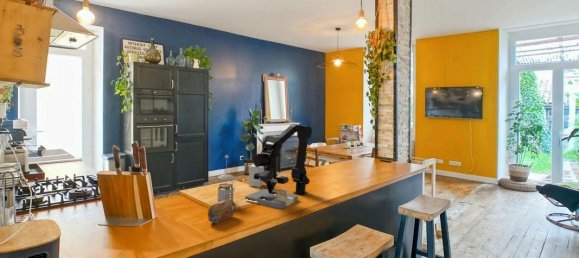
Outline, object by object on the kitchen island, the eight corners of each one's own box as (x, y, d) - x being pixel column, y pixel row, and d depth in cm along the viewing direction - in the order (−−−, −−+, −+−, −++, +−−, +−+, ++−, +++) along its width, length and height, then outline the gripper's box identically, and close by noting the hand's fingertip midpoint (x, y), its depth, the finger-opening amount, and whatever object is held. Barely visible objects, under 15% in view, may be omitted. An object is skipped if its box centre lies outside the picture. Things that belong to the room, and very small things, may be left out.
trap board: (263, 193, 188) (264, 188, 188) (297, 200, 178) (298, 195, 178) (245, 200, 173) (245, 196, 173) (281, 209, 162) (281, 204, 162)
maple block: (280, 196, 176) (280, 188, 175) (286, 197, 174) (287, 190, 173) (276, 197, 172) (276, 190, 172) (283, 199, 170) (283, 191, 170)
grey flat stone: (211, 226, 137) (212, 206, 137) (206, 224, 139) (206, 205, 138) (235, 216, 150) (236, 198, 149) (230, 214, 152) (231, 197, 151)
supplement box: (260, 187, 200) (260, 167, 199) (248, 186, 201) (249, 166, 200) (263, 184, 207) (264, 164, 206) (252, 183, 209) (253, 163, 208)
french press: (211, 204, 164) (212, 155, 162) (226, 198, 175) (227, 152, 172) (226, 208, 160) (228, 157, 158) (241, 202, 170) (242, 154, 168)
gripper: (248, 164, 171) (247, 194, 173) (279, 169, 163) (277, 200, 164) (259, 161, 181) (258, 189, 182) (289, 166, 172) (288, 195, 174)
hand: (270, 193), depth 175 cm, fingers closed
